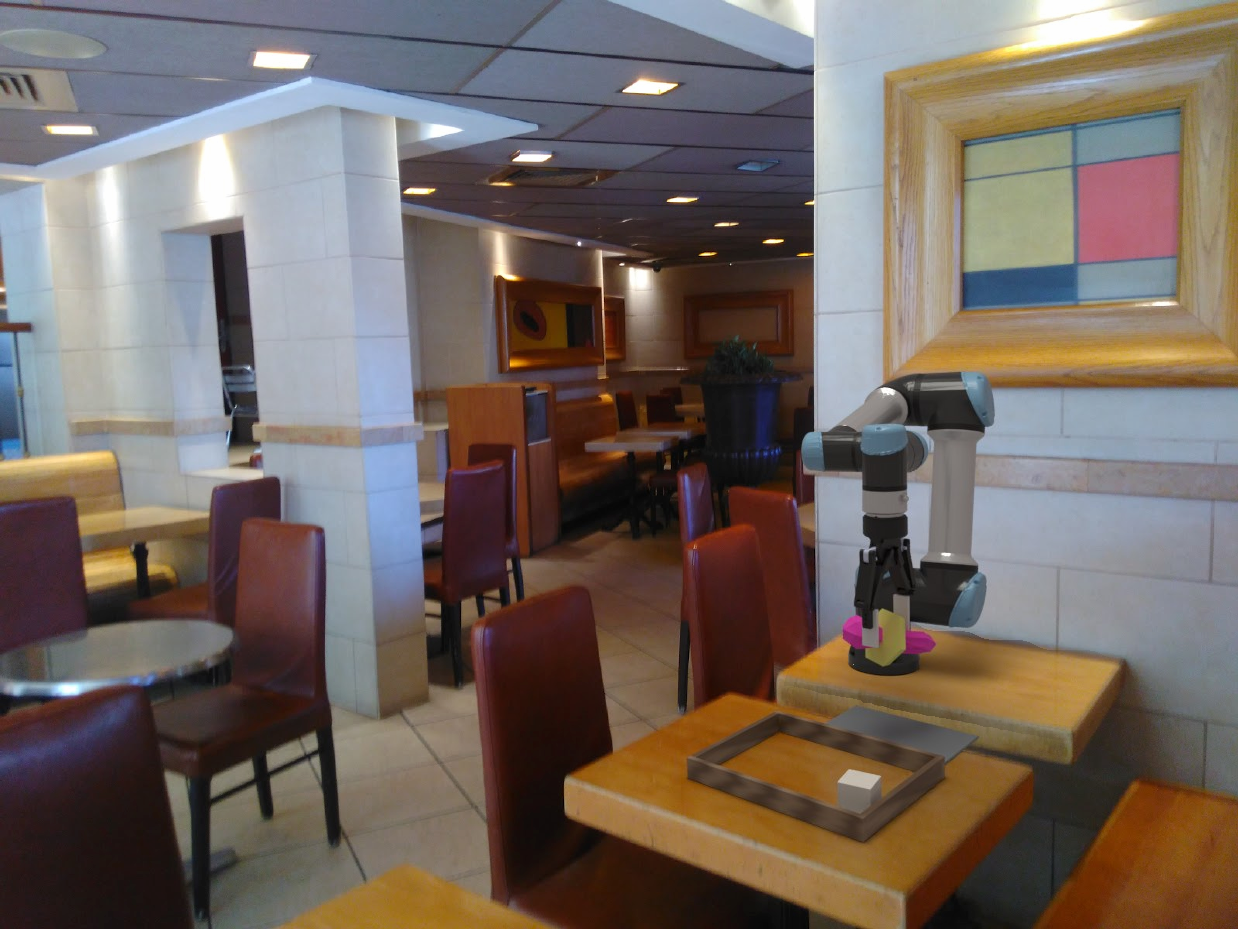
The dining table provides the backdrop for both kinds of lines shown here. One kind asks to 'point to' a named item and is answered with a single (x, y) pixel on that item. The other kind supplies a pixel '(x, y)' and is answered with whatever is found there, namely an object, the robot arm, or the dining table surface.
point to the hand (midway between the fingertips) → (886, 638)
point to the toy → (888, 638)
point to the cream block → (858, 790)
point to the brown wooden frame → (807, 808)
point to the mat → (904, 731)
